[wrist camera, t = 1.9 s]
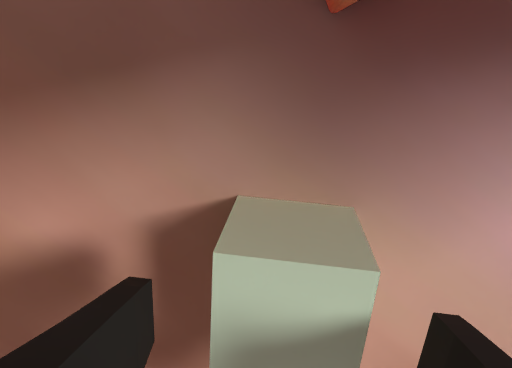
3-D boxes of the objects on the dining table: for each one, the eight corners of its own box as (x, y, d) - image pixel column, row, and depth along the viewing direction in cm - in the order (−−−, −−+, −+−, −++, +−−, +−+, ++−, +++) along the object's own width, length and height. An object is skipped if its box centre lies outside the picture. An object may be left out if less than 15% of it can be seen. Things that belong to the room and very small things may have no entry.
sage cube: (353, 206, 12) (380, 272, 8) (335, 302, 13) (353, 397, 9) (238, 194, 12) (212, 252, 8) (233, 289, 13) (209, 376, 10)
